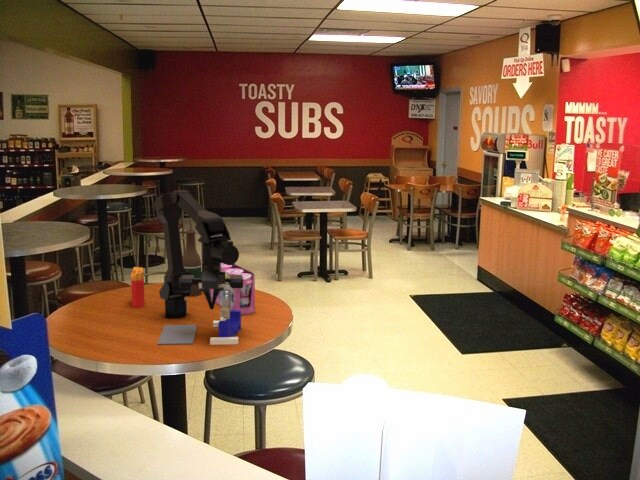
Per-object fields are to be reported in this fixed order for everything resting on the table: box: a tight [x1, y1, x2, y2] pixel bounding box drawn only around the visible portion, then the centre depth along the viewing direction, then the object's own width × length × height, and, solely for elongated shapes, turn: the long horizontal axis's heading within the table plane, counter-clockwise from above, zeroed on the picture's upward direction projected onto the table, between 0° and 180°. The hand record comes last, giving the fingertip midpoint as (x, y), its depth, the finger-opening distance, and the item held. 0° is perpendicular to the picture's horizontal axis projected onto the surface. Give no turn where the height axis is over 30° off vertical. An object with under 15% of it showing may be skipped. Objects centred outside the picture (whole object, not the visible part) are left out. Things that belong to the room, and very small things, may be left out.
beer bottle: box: [182, 229, 202, 297], centre depth 223 cm, size 8×8×24 cm
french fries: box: [130, 266, 145, 308], centre depth 209 cm, size 9×4×13 cm, turn 19°
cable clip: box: [218, 310, 242, 337], centre depth 183 cm, size 12×4×6 cm, turn 169°
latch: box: [219, 290, 231, 318], centre depth 187 cm, size 3×19×9 cm, turn 7°
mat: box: [156, 324, 198, 346], centre depth 182 cm, size 10×16×1 cm, turn 7°
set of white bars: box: [209, 317, 239, 346], centre depth 187 cm, size 8×24×2 cm, turn 7°
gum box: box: [210, 263, 256, 316], centre depth 211 cm, size 24×8×14 cm, turn 32°
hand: (211, 309), depth 183 cm, fingers closed
